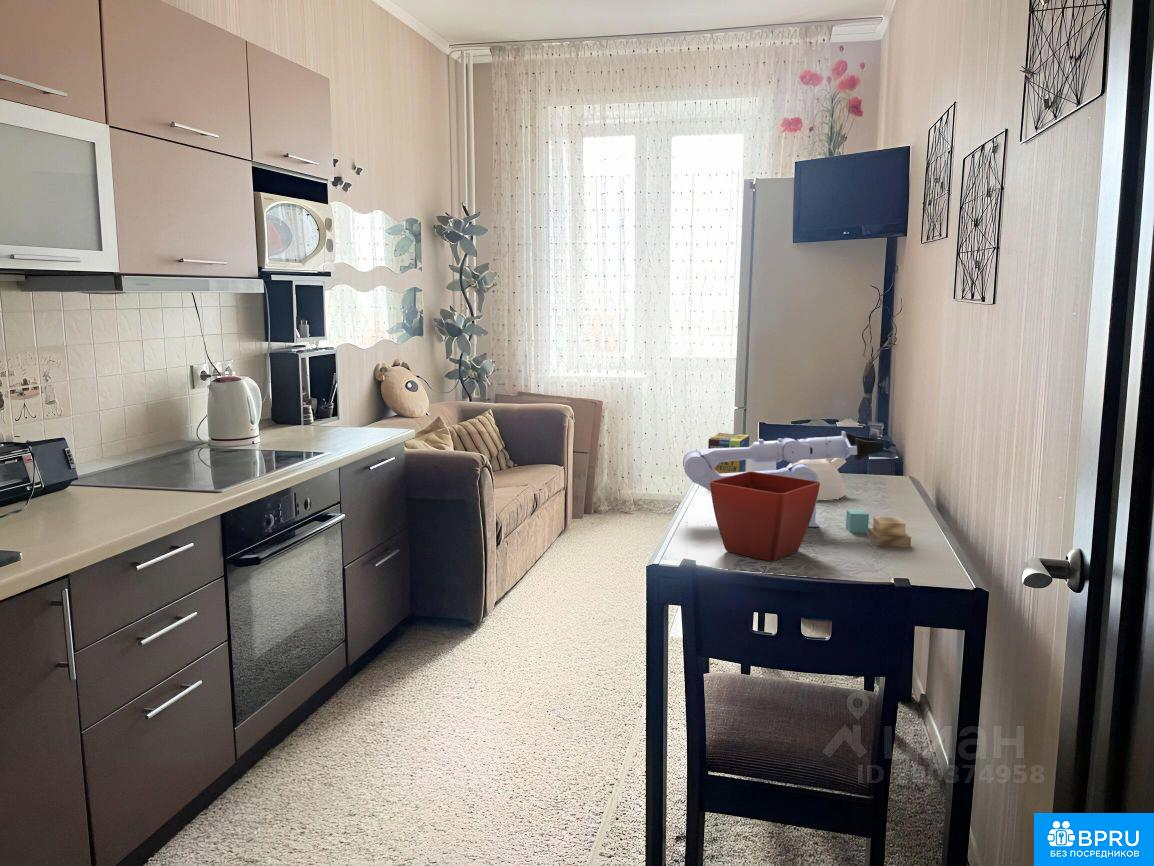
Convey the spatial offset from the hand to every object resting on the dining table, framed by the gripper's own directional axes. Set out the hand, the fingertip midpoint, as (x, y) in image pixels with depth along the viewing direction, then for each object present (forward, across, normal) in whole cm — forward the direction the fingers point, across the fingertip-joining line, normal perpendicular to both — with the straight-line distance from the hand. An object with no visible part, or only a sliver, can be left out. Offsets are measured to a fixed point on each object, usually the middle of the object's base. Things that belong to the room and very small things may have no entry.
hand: (878, 444), depth 222 cm
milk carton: (-29, +22, +20) cm, 41 cm away
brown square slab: (-3, -17, +22) cm, 28 cm away
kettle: (-11, +39, +21) cm, 46 cm away
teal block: (-8, -6, +21) cm, 23 cm away
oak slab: (-3, -17, +19) cm, 26 cm away
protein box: (-35, +54, +19) cm, 67 cm away
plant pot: (-35, -28, +19) cm, 49 cm away
